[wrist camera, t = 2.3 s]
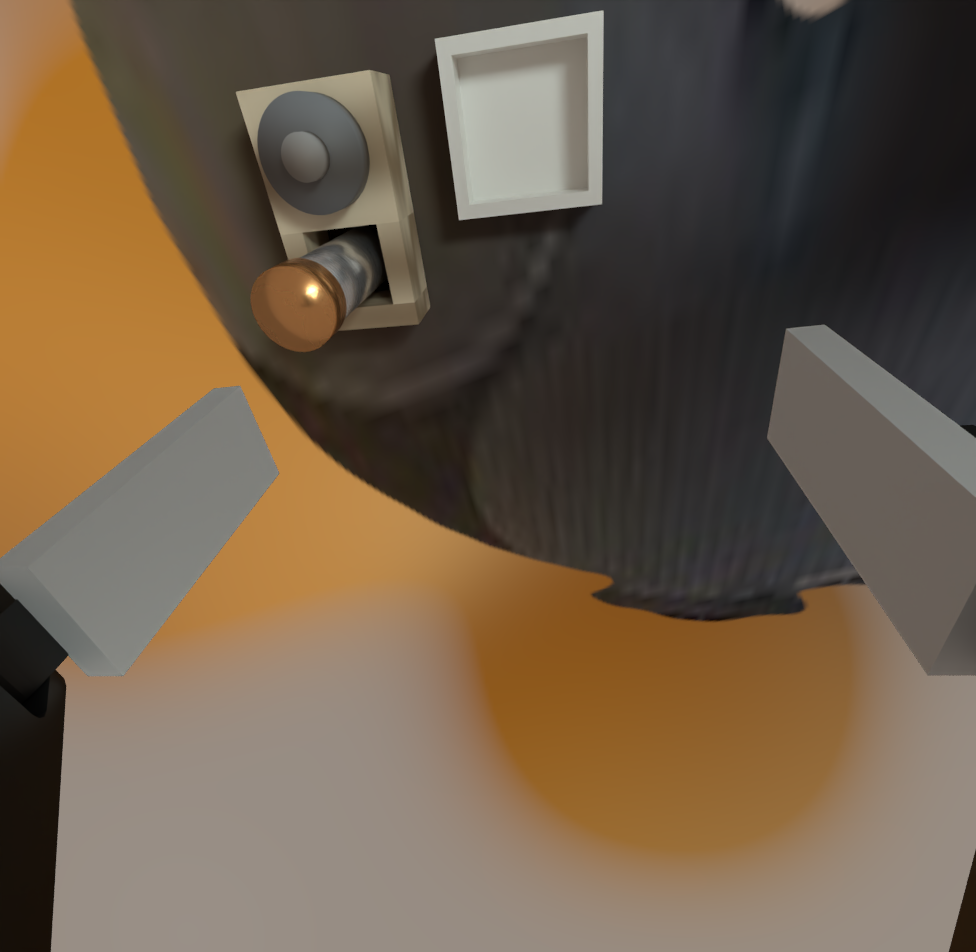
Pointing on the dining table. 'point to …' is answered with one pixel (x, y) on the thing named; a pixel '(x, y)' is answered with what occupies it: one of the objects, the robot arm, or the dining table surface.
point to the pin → (318, 289)
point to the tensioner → (341, 179)
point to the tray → (525, 115)
